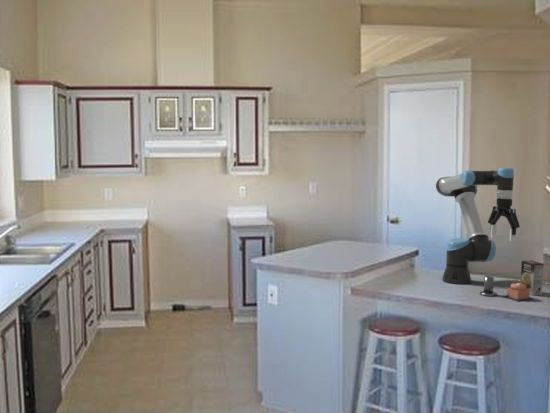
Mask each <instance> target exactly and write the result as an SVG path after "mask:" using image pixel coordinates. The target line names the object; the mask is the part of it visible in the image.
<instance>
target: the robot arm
mask: <svg viewBox="0 0 550 413" xmlns="http://www.w3.org/2000/svg"><path fill="white" fill-rule="evenodd" d="M514 177H515V176H514V168H512V167H499V168H498V170H495V169H494V170H464V171H462V172H461V173H460V174H456V175H453V176H443V177H440V178H438V180H437V181H436V183H435V190H436V191H437V192H438V194H440V195H442V196H443V197H450V198H451V197H454V201H456V203H458V204H459V209H460V212H461V215H462V218H463V219H462V220H463V221H464V225H465V229H466V233H467V236H468V238H467V237H459V238H458V237H457V238H452V239H451V238H450V240H448V241H447V244H446V260H445V262H446V264H445V269H444V272H443V274H442V277H441V278H442V279H441V280H442V281H443V282H444V283H447V284H453V285H455V284H456V285H465V284H470V283H472V277H471V273H470V270H469V263H486V262H491V261H492V260H494V258H495V256H496V253H497V252H496V250H497V248H496V247H497V246H496V243H495V241H493V240H491V239H490V238H496V237H497V223H498V221H499V219H500V218H501V217H504V218H506V221H507V222H508V224H509V226H510V228H509V242H515V240H516V235H517V229H519V228H520V222H519V218H518V216H517V212H516V208H511V207H512V206H513V196H514V195H513V192H514V179H515V178H514ZM478 186H497V188H496V206H495V205H494V206H492V211H491V213H490V215H489V218H488V220H487V223H488V224H489V225H490V238H489V236H488V234H486V233H485V232H484V228H483V224H482V222H481V219H480V215H479V212H478V208H477V205H476V202H475V197H476V195H477V193H478Z"/></svg>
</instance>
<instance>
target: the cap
mask: <svg viewBox="0 0 550 413" xmlns="http://www.w3.org/2000/svg"><path fill="white" fill-rule="evenodd" d="M506 290H507V291H506V292H507V293H506V295H507V296H509V297H512V298H515V299H525V298H529V297H530V295H529V291H530V290H528V289H526V285H524V284H521V282H515V283H511V284H510V287H508V288H507V289H506Z"/></svg>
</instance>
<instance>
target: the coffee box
mask: <svg viewBox="0 0 550 413" xmlns="http://www.w3.org/2000/svg"><path fill="white" fill-rule="evenodd" d="M544 265H545V264H544V263H543V262H538V261H534V260H522V261H521V271H520V284H524V285H526V289H528V290H530V291H529V294H530V295H529V296H541V295H542V293H543V280H544V279H543V278H544Z"/></svg>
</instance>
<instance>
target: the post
mask: <svg viewBox="0 0 550 413" xmlns="http://www.w3.org/2000/svg"><path fill="white" fill-rule="evenodd" d="M483 279H484V280H483V290H481V291H479V295H481V296H482V295H483V296H482V297H493V298H494V297H496V296H497V294H498V293H497V292H496V291H494V281H495V280H494V276H491V275H486V276H484V278H483Z"/></svg>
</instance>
